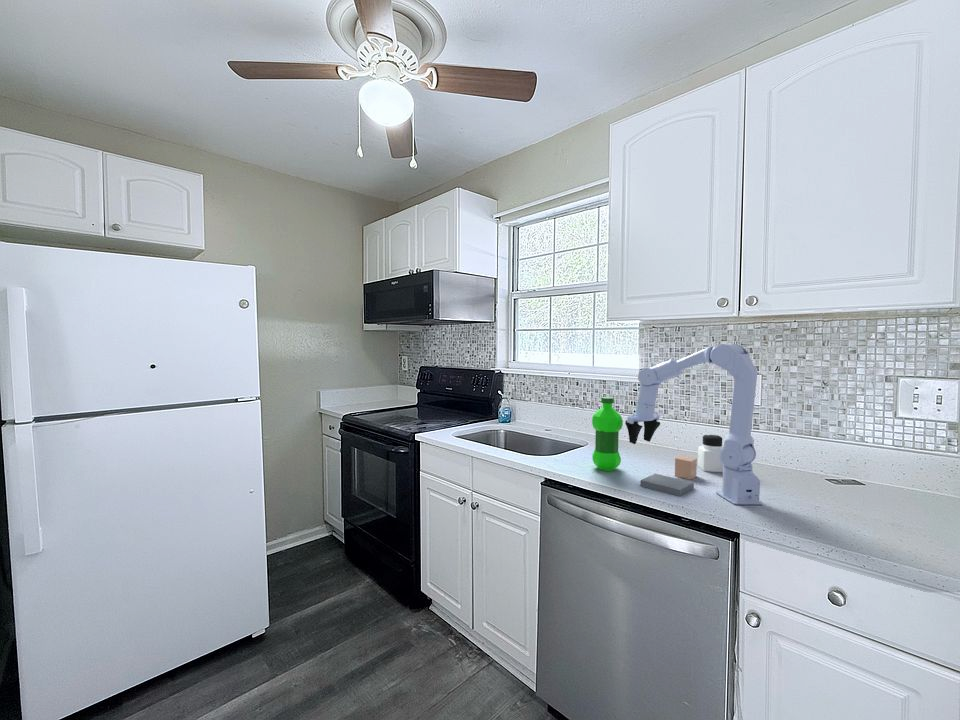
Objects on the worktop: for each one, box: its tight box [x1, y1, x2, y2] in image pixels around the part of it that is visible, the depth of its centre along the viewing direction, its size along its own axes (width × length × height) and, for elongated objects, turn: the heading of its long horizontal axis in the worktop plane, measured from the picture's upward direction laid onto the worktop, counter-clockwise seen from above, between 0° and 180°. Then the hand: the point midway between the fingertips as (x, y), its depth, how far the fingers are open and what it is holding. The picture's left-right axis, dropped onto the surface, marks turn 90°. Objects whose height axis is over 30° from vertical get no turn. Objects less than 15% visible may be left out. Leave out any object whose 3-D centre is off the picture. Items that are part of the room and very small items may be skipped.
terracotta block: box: [674, 455, 698, 481], centre depth 143 cm, size 5×5×6 cm
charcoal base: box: [640, 473, 695, 497], centre depth 132 cm, size 12×10×2 cm
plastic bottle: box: [591, 396, 624, 472], centre depth 151 cm, size 10×10×25 cm
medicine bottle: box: [697, 433, 723, 473], centre depth 151 cm, size 7×7×12 cm
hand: (639, 441), depth 147 cm, fingers open, 7 cm apart
